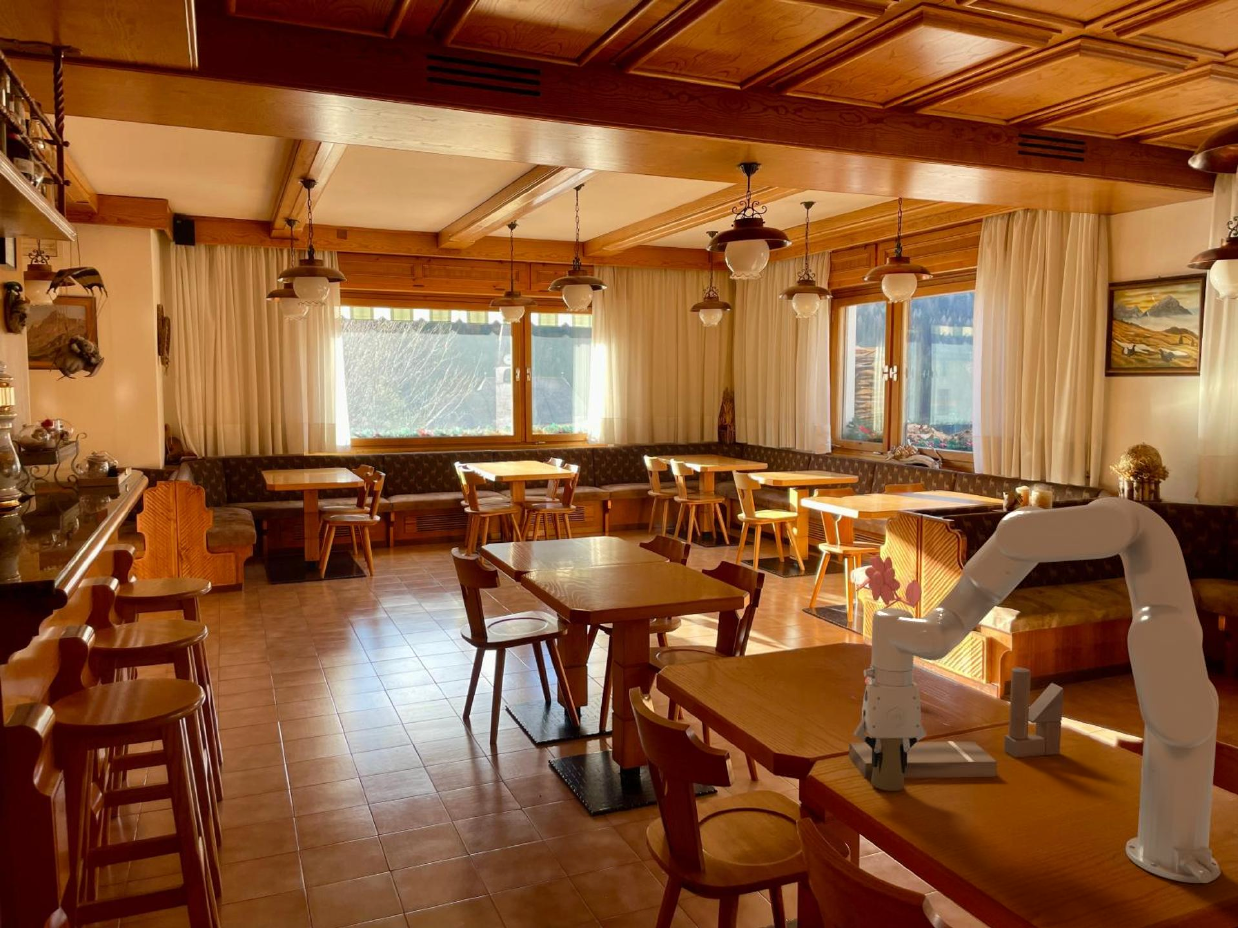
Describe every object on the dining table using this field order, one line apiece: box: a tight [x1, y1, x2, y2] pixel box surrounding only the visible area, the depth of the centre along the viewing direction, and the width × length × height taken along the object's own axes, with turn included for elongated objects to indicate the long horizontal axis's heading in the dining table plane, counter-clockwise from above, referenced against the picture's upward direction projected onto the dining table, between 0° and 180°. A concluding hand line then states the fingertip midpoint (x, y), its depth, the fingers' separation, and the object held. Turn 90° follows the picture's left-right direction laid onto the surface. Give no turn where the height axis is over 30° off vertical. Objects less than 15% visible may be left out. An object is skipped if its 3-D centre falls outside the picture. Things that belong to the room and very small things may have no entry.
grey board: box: [848, 740, 998, 779], centre depth 176 cm, size 10×26×3 cm, turn 93°
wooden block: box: [1003, 666, 1064, 758], centre depth 183 cm, size 4×11×18 cm, turn 102°
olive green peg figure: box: [870, 738, 905, 792], centre depth 166 cm, size 6×6×11 cm
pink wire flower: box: [845, 554, 923, 702], centre depth 218 cm, size 15×26×35 cm, turn 19°
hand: (889, 769), depth 166 cm, fingers closed on olive green peg figure, 3 cm apart
